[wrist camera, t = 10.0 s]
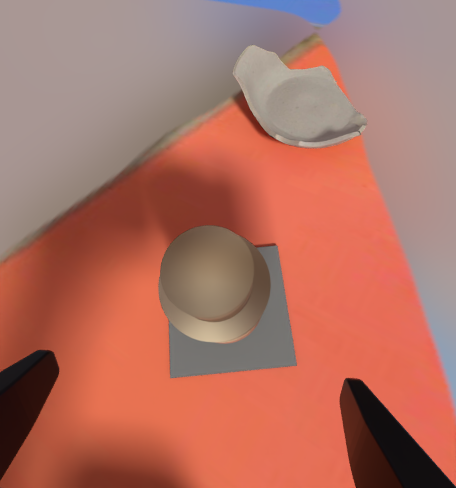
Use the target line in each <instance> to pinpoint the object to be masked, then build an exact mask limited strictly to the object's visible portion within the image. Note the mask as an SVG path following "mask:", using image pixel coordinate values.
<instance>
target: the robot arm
mask: <svg viewBox="0 0 456 488" xmlns="http://www.w3.org/2000/svg"><path fill="white" fill-rule="evenodd" d="M58 375H59V366H58V363H57V360H56V357H55V354H54V352H52V351H50V350H38V351H36V352H34V353H32V354H30V355H29V356H27V357H25V358H24V359H22V360H20V361H18V362H17V363H15V364H13V365H12V366H10V367H8V368H6V369H5V370H3V371H1V372H0V480H1V479H2V477H3V475H4V474H5V472H6V470H7V469H8V467H9V465H10V464H11V462H12V460H13V459H14V457H15V456H16V454H17V452H18V451H19V449H20V447H21V446H22V444H23V442H24V441H25V439H26V437H27V436H28V434H29V432H30V431H31V429H32V427H33V425H34V423H35V422H36V420H37V418H38V416H39V414H40V412H41V410H42V408H43V406H44V404H45V402H46V400H47V398H48V396H49V394H50V392H51V390H52V388H53V386H54V384H55V382H56V380H57V378H58ZM340 408H341V414H342V421H343V427H344V433H345V439H346V445H347V451H348V457H349V463H350V467H351V471H352V475H353V479H354V483H355V487H356V488H456V486H455V485H454V484H453V483H452V482H451V481H450V480H449V478H448V477H447V476H446V475H445V474H444V473H443V472H442V470H441V469H440V468H439V467H438V466H437V465H436V464H435V463H434V461H433V460H432V459H431V458H430V457H429V456H428V455H427V454H426V452H425V451H424V450H423V449H422V448H421V447H420V446H419V444H418V443H417V442H416V441H415V440H414V439H413V438H412V437H411V435H410V434H409V433H408V432H407V431H406V430H405V429H404V428H403V426H402V425H401V424H400V423H399V422H398V421H397V420H396V419H395V417H394V416H393V415H392V414H391V413H390V412H389V411H388V409H387V408H386V407H385V406H384V405H383V404H382V403H381V402H380V400H379V399H378V398H377V397H376V396H375V395H374V394H373V393H372V391H371V390H370V389H369V388H368V387H367V386H366V385H365V384H364V382H363V381H362V380H360V379H355V378H346V379H345V380H344V383H343V387H342V391H341V394H340Z"/></svg>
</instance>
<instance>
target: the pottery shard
mask: <svg viewBox="0 0 456 488" xmlns="http://www.w3.org/2000/svg"><path fill="white" fill-rule="evenodd" d="M233 75H234V77H235V79H236V80H237V81H238V83H239V84H240V86H241V88H242V90H243V93H244V96H245V98H246V101H247V103H248V105H249V108H250V109H251V111H252V113H253V115H254V116H255V117H256V119H257V120H258V122H259V123H260V125H261V126H262V127H263V129H264V130H265V131H266V132H267V133H268V134H269V135H270V136H271V137H273V138H275V139H277V140H279V141H281V142H283V143H285V144H288V145H291V146H295V147H300V148H326V147H330V146H334V145H338V144H341V143H344V142H346V141H348V140H350V139H352V138H354V137H356V136H359V135H361V132H362V131H363V130H364V129H365V127H366V125H367V119H366V118H365V117H364V116H363V115H362V114H361V113H359V112H357V111H356V109H355V108H354V107H353V106H352V104H351V102H350V101H349V100H348V98H347V97H346V95H345V94H344V93H343V92H342V91H341V89H340V88H339V86H338V85H337V84H336V82H337V81H335V80H334V78H333V76H332V74H331V71H330V70H329V69H328V68H325V67H324V66H319V67H315V68H309V69H301V70H300V69H289V68H288V67H286V66H285V65H284V64H283V63H282V62H281V60H280V59H279V58H278V56H277V55H276V54H275V53H274V52H268V51H266V50H263V49H261V48H259V47H257V46H255V45H251V46H248V47H247V49H245V50H244V52H243V53H242V54H241V55H240V57H239V59H238V60H237V61H236V63H235V66H234V69H233Z"/></svg>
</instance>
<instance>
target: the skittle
mask: <svg viewBox="0 0 456 488" xmlns="http://www.w3.org/2000/svg"><path fill="white" fill-rule="evenodd" d="M270 289H271V280H270V273H269V270H268V266H267V264H266V262H265V259H264V258H263V256H262V254H261V253H260V252H259V250H258V249H257V248H256V247H255V246H254V245H253V244H252V243H251V242H249V241H248V240H246V239H245V238H243V237H241V236H239V235H237V234H235V233H234V232H232V231H230V230H228V229H226V228H223V227H219V226H213V225H205V226H199V227H195V228H192V229H189V230H187V231H185V232H184V233H182V234H181V235H179V236H178V237H177V238H176V239H175V240H174V241H173V242H172V243H171V244H170V246H169V247H168V248H167V250H166V252H165V254H164V256H163V259H162V263H161V270H160V277H159V298H160V302H161V306H162V308H163V311H164V313H165V315H166V316H167V318H168V319H169V321H170V322H171V323H172V324H173V326H175V327H176V328H177V329H178V330H179V331H180V332H182V333H183V334H185V335H187V336H189V337H191V338H193V339H196V340H199V341H205V342H215V343H224V344H227V343H233V342H237V341H239V340H242V339H243V338H245V337H246V336H248V335H249V334H250V333H251V332H252V331H253V330H254V329H255V327H256V326H257V324H258V323H259V321H260V318H261V316H262V314H263V312H264V311H265V308H266V306H267V303H268V300H269V296H270Z"/></svg>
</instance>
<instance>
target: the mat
mask: <svg viewBox="0 0 456 488" xmlns="http://www.w3.org/2000/svg"><path fill="white" fill-rule="evenodd" d="M257 249H258V250H259V252H260V253H261V254H262V256H263V258H264V259H265V262H266V264H267V266H268V270H269V273H270V280H271V289H270V296H269V300H268V303H267V306H266V308H265V311H264V312H263V314H262V316H261V318H260V321H259V323H258V324H257V326H256V327H255V329H254V330H253V331H252V332H251V333H250V334H249V335H248V336H246V337H245V338H243V339H242V340H239V341H237V342H233V343H227V344H224V343H215V342H205V341H199V340H196V339H193V338H191V337H189V336H187V335H185V334H183V333H182V332H180V331H179V330H178V329H177V328H176V327H175V326H173V324H172V323H171V322H170V321H169V342H170V378H177V377H187V376H197V375H207V374H217V373H227V372H237V371H247V370H257V369H268V368H278V367H288V366H297V363H296V356H295V350H294V344H293V338H292V332H291V326H290V320H289V314H288V308H287V302H286V295H285V289H284V283H283V277H282V271H281V265H280V259H279V253H278V247H277V246H267V247H258V248H257Z"/></svg>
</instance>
